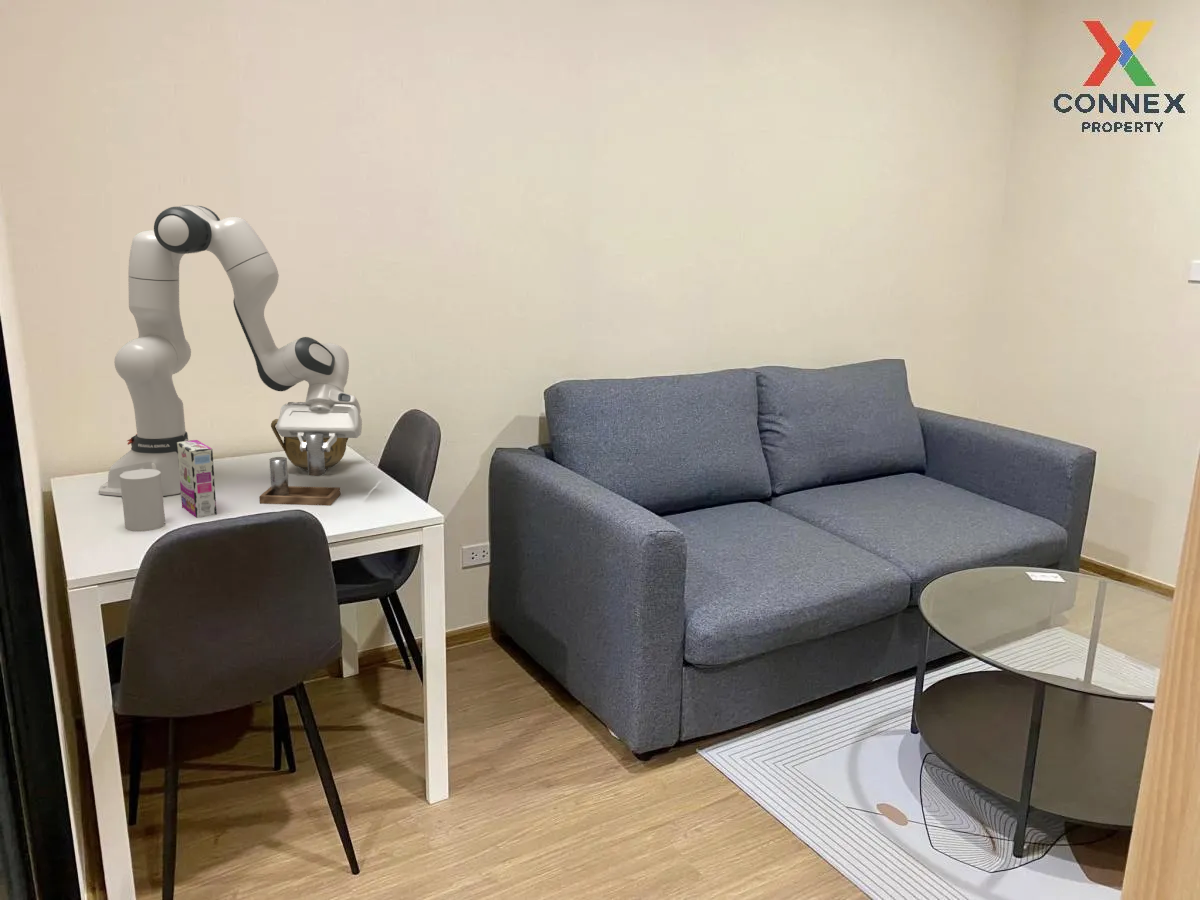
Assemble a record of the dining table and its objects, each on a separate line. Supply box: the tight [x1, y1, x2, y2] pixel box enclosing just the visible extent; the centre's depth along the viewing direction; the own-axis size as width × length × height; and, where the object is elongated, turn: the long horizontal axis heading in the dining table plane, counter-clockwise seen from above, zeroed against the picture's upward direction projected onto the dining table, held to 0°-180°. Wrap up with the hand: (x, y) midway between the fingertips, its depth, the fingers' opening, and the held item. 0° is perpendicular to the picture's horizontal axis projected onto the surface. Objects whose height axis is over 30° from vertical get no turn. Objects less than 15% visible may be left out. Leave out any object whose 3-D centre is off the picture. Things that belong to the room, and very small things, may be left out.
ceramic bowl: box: [270, 418, 349, 472], centre depth 256 cm, size 22×17×15 cm
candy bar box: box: [177, 439, 218, 519], centre depth 217 cm, size 11×5×16 cm, turn 40°
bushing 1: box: [269, 456, 289, 496], centre depth 228 cm, size 4×4×10 cm
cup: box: [120, 469, 166, 532], centre depth 208 cm, size 8×8×12 cm
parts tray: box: [258, 485, 341, 507], centre depth 229 cm, size 17×9×2 cm, turn 90°
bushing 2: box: [306, 432, 326, 477], centre depth 226 cm, size 4×4×10 cm
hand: (314, 450), depth 226 cm, fingers closed on bushing 2, 4 cm apart
